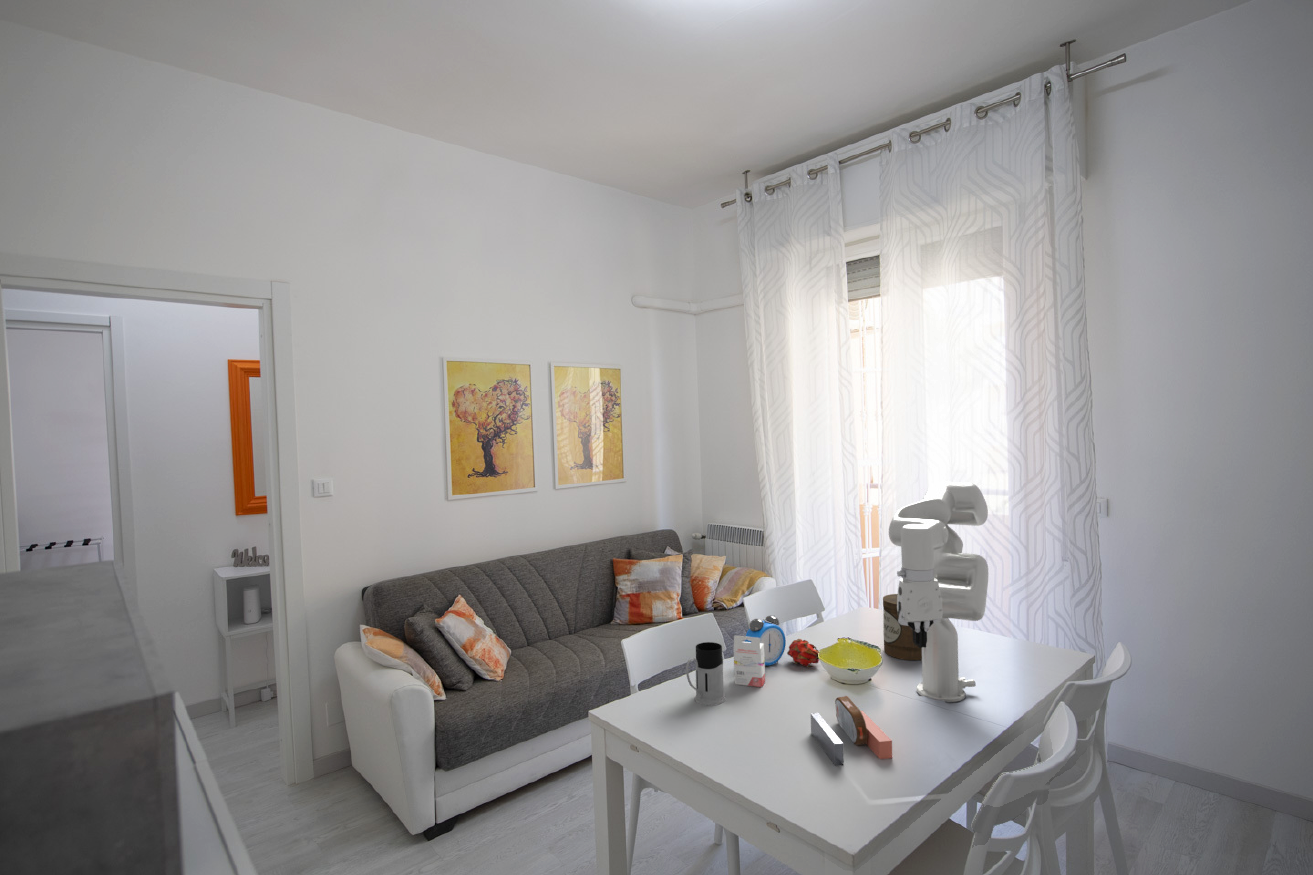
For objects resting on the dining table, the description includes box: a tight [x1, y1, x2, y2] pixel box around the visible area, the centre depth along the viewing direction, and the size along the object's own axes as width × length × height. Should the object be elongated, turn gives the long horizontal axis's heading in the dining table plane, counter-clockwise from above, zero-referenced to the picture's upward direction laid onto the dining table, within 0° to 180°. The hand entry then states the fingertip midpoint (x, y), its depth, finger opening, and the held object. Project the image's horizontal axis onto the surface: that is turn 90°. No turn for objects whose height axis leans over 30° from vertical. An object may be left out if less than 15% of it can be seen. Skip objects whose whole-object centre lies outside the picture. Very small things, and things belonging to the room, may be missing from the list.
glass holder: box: [685, 641, 726, 706], centre depth 184 cm, size 9×14×15 cm, turn 137°
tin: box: [834, 695, 868, 746], centre depth 161 cm, size 15×3×8 cm, turn 5°
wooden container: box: [882, 593, 922, 661], centre depth 219 cm, size 15×15×22 cm
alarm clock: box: [743, 615, 787, 667], centre depth 212 cm, size 13×6×15 cm, turn 122°
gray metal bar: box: [810, 712, 845, 767], centre depth 156 cm, size 2×16×5 cm, turn 6°
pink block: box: [860, 710, 893, 760], centre depth 157 cm, size 3×16×4 cm, turn 6°
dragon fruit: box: [786, 638, 820, 668], centre depth 211 cm, size 8×8×12 cm
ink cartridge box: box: [732, 634, 766, 688], centre depth 197 cm, size 9×5×15 cm, turn 68°
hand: (920, 645), depth 165 cm, fingers closed
